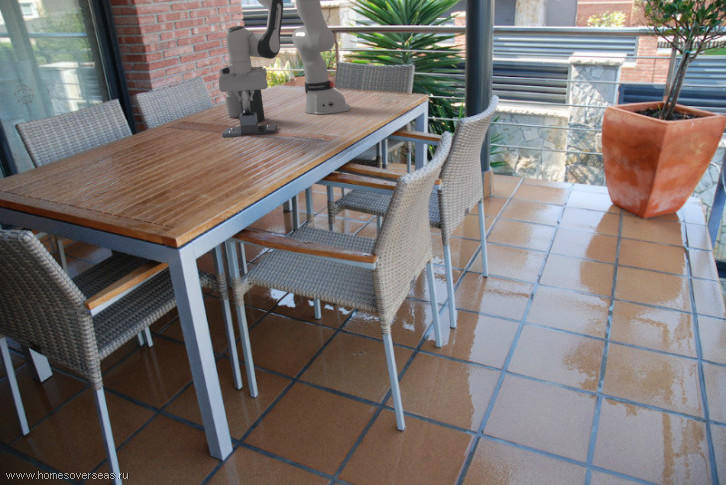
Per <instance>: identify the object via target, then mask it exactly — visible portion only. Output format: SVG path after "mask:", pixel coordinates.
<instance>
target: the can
mask: <svg viewBox="0 0 726 485" xmlns="http://www.w3.org/2000/svg"><path fill="white" fill-rule="evenodd" d="M238 94H239V93H238ZM224 97H225V102H226V109H227V115H228V117H230V118H232V119H236V118H237V119H238V118H239V116H240V114H241V113H242V112H241V105H240V102H239V100H238V97H237V96H236V95H235V91H231V92H226V94H225V96H224Z"/></svg>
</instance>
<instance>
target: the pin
mask: <svg viewBox="0 0 726 485" xmlns="http://www.w3.org/2000/svg"><path fill="white" fill-rule="evenodd" d="M241 96H242V103H243V110H244V115H250V114H251V109H250V102H249V98H248V97H249V95H248V90H246V91H241Z"/></svg>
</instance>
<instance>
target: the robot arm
mask: <svg viewBox="0 0 726 485" xmlns="http://www.w3.org/2000/svg"><path fill="white" fill-rule="evenodd" d="M256 1H257V2H258V4H260V5H261V6H263V7H265V8H267V11H268V15H267V23H266V30H264V31H263V32H253V31H251V30H249V29H247V28H245V26H243V25H235V26H232V27H230V28H228V29H227V30H226V34H225V35H226V37H225V38H226V39H225V40H226V47H227V52H228V55H229V58H228V60H229V61H228V62H229V64H227V65H225V66H222V67H221V68H220V69H219V74H220V76H218V77H219V78H218V88H219V91H220V92H221V93H227V92H231V91H235V95H236V96H237V97H238V100H239V102H242V97H240V96H239V94H238V93H239V91H246V90H250V93H252V94H251V96H249V97H248V98H249V101H253V98H252V96H253V94H254V90H261V91H262V90H266V89H268V87H269V84H268V80H267V75H268V72H267V69H266V68H265V67H263V66H252V60H251V57H253V58H263V59H269V60H271V59H274V58H276V57H277V56H278V54H279V53H280V51H281V32H282V31H281V30H282V25H283V16H284V15H283V14H284V0H256ZM295 5H296V12H297V15H298V17H299V18H300V19H301V22H302V23H303V26H301V27H298V28H296V29H294V30H293V33H292V35H291V40H292V44H293V45H294V46H295V48H296V49H297V51H298V54H299V56H300V59H301V61H302V65H303V71H304V72H303V73H304V80H305V82H304V93H305V96H306V97H305V98H306V99H305V108H304V112H305V113H307V114H312V115H313V114H314V115H325V114H326V115H327V114H334V113H344V112H349V111H351V105H350V104H348V103H347V102H346V99H345V96H344V95H343V94H342V93H340V92H339V91H338V90H336V89H335V88H333V87H334V82H333V81H332V80H330V79H329V77H328V76H329V75H328V73H329V72H328V65H327V62H326V60H324V58H323V56H322V53H324V52H328V51H331V49H333V47H334V45H335V40H336V39H335V34H334V33H333V31H331V29H330V28H329V27H328V24H327V22H326V20H325V18H324V17H325V16H323V10H322V5H321V0H295Z"/></svg>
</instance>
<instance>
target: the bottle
mask: <svg viewBox="0 0 726 485" xmlns="http://www.w3.org/2000/svg"><path fill="white" fill-rule="evenodd" d="M251 94H252V93H250V90H248V95H249V96H251ZM239 96H240V97H242V96H241V91H239ZM262 96H263V95H262V89H261V90H254V94H253V96H252V98H253V101H249V102H250V109H251V112H256V114H257V121H258V123H261V122H263V121H264V120H265V110H264V103H263V102H264V101H263V97H262ZM240 105H241V112H242V113H244V110H243V103H242V102H240Z"/></svg>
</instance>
